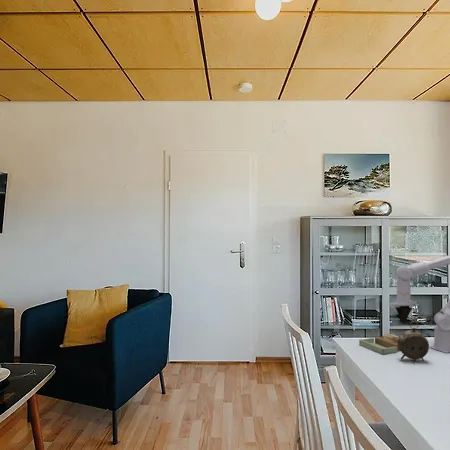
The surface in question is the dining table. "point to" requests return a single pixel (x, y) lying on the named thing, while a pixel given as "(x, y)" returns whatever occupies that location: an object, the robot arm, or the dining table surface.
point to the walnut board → (386, 343)
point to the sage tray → (376, 347)
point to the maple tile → (391, 337)
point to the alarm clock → (413, 344)
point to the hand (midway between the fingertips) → (403, 322)
